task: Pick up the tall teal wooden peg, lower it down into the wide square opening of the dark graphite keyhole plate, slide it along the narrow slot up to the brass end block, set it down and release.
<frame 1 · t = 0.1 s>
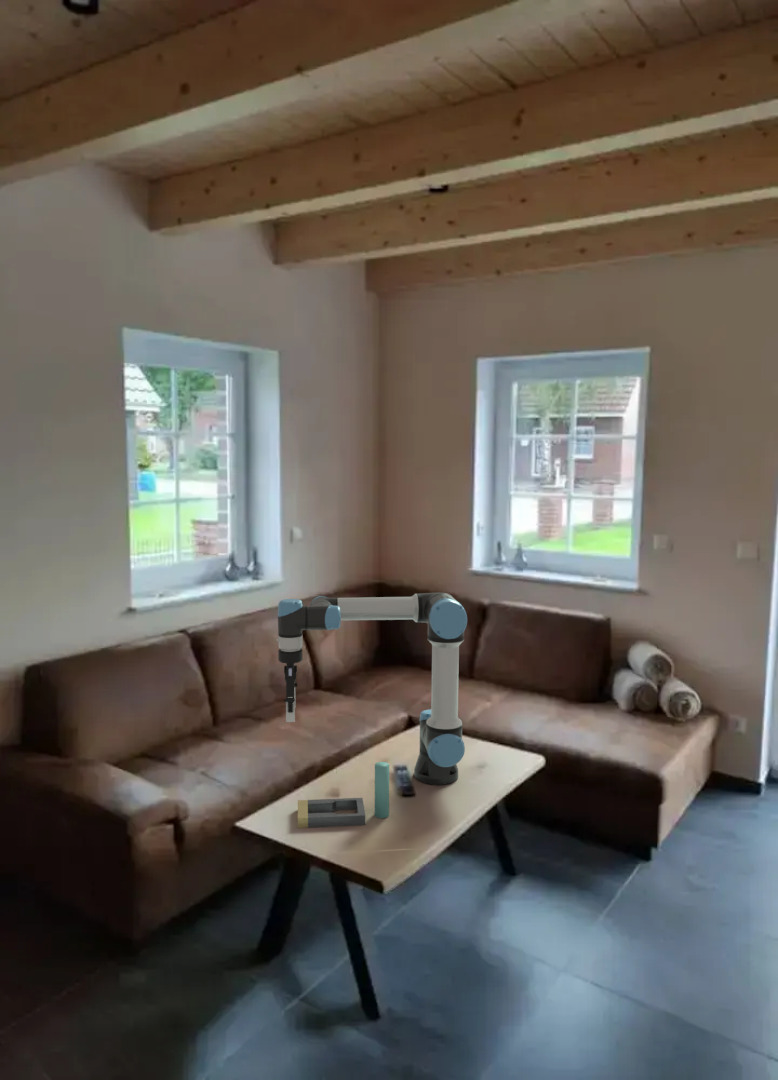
hand: (290, 714, 248), 28 cm above the table, fingers open, 13 cm apart
keyhole plate: (331, 817, 239), on the table
peg: (381, 814, 241), on the table
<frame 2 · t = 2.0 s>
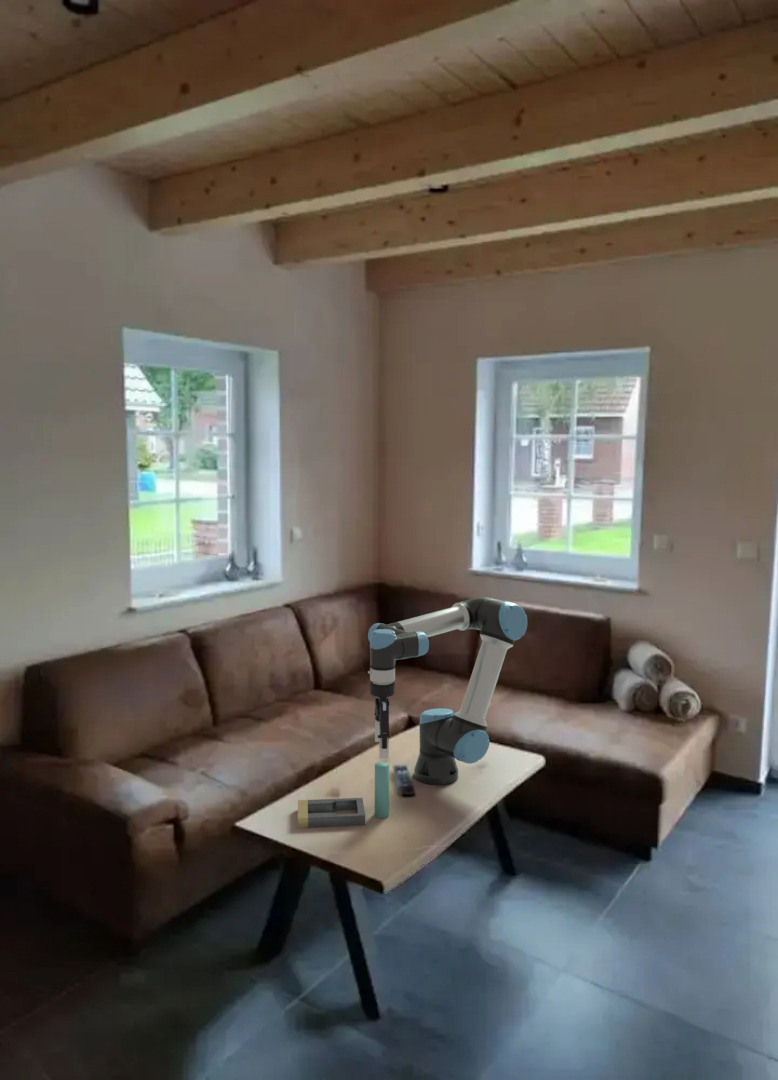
hand: (381, 749, 238), 21 cm above the table, fingers open, 13 cm apart
nothing on the table moved.
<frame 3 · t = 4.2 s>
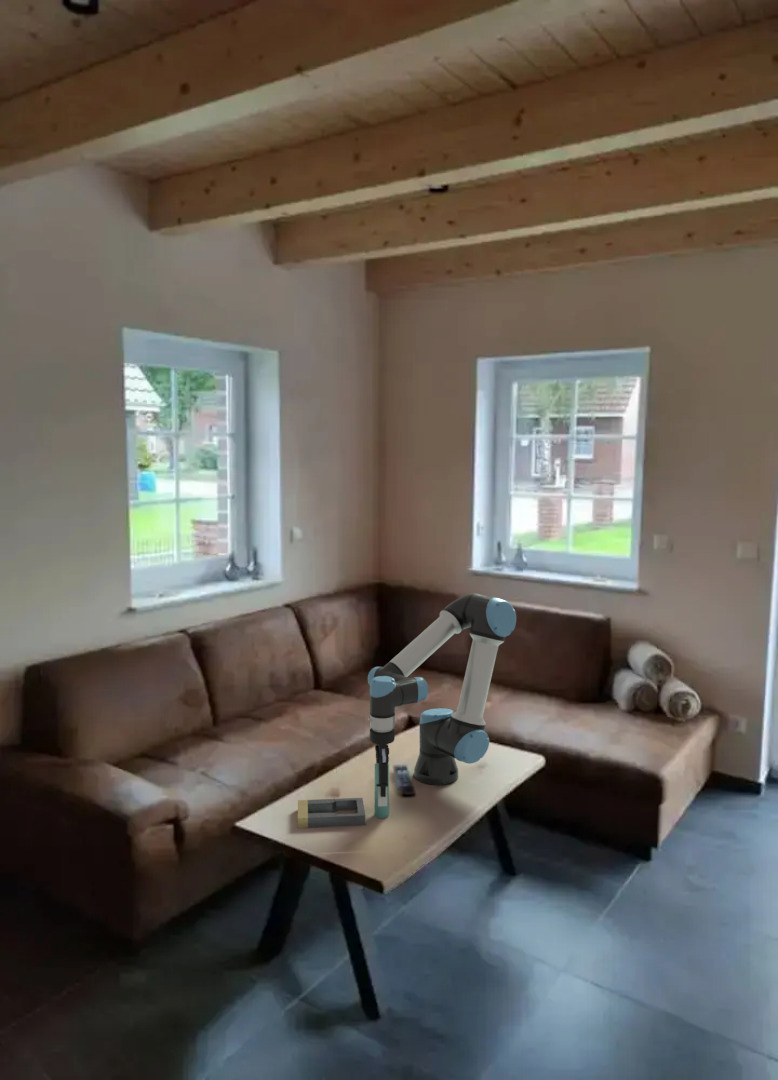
hand: (381, 801, 240), 4 cm above the table, fingers closed on peg, 4 cm apart
peg: (381, 814, 241), on the table, touching gripper
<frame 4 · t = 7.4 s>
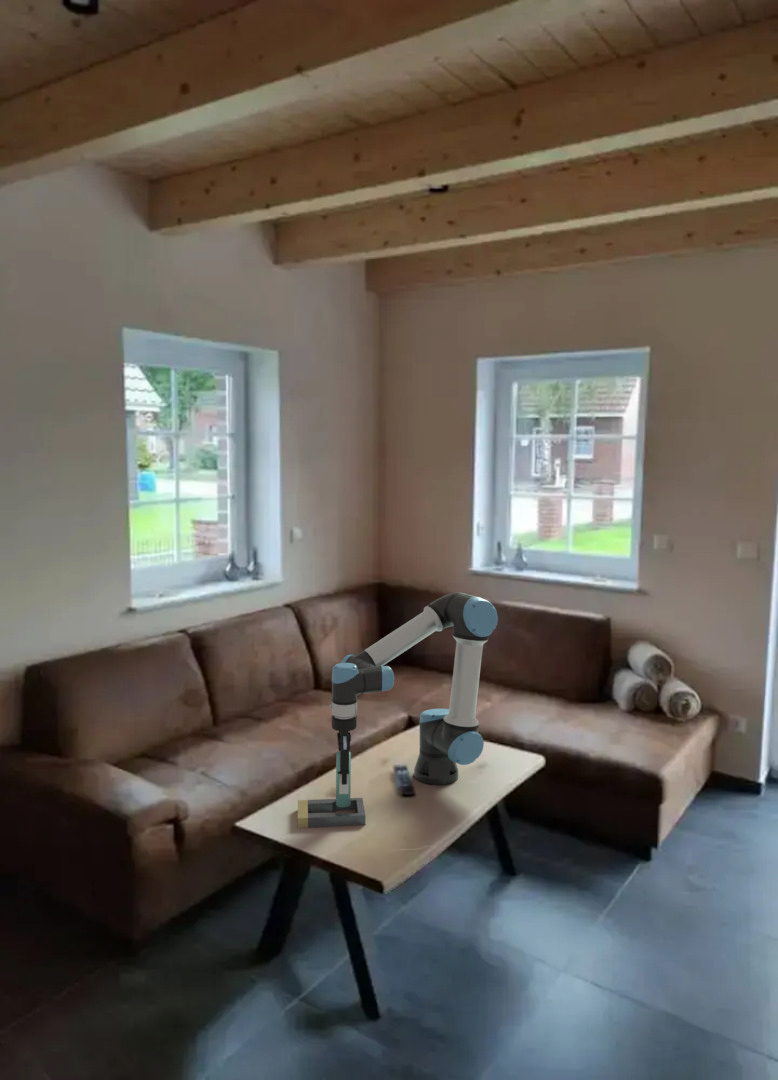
hand: (343, 789, 238), 9 cm above the table, fingers closed on peg, 4 cm apart
peg: (343, 804, 239), point 4 cm above the table, touching gripper
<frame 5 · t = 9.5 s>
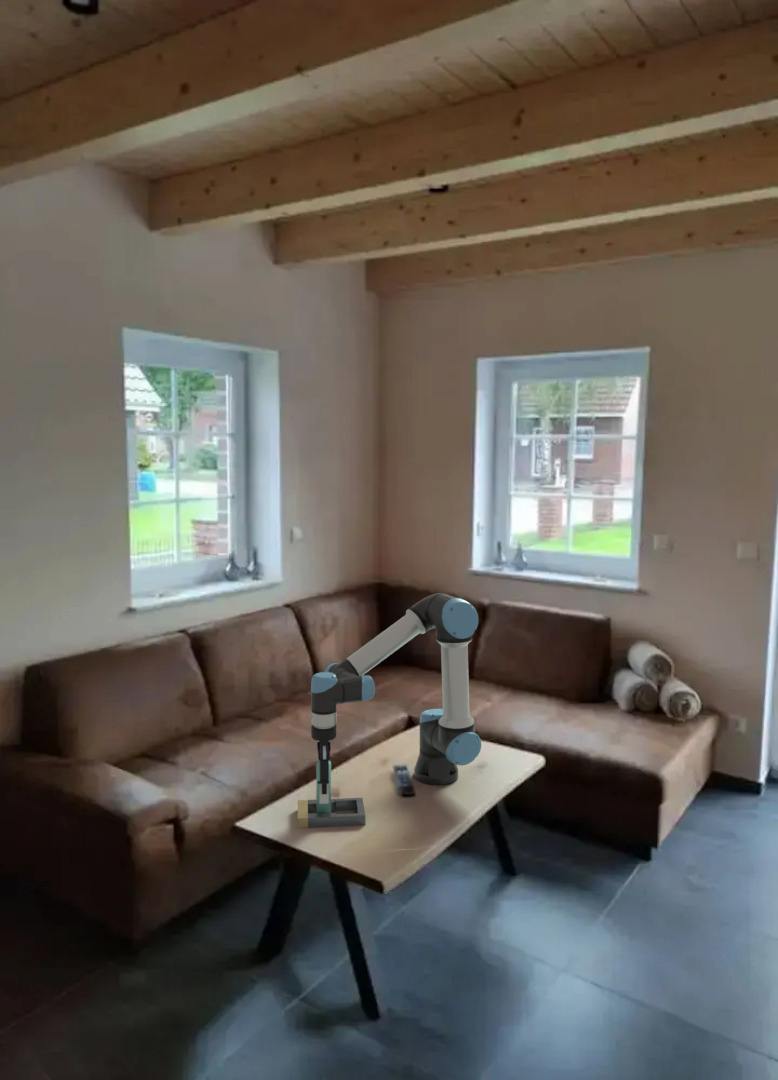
hand: (323, 799, 238), 6 cm above the table, fingers closed on peg, 4 cm apart
peg: (323, 813, 239), point 1 cm above the table, touching gripper
when the fingers open (5 cm above the table, at t = 10.7 s): peg stays where it is, resting in keyhole plate.
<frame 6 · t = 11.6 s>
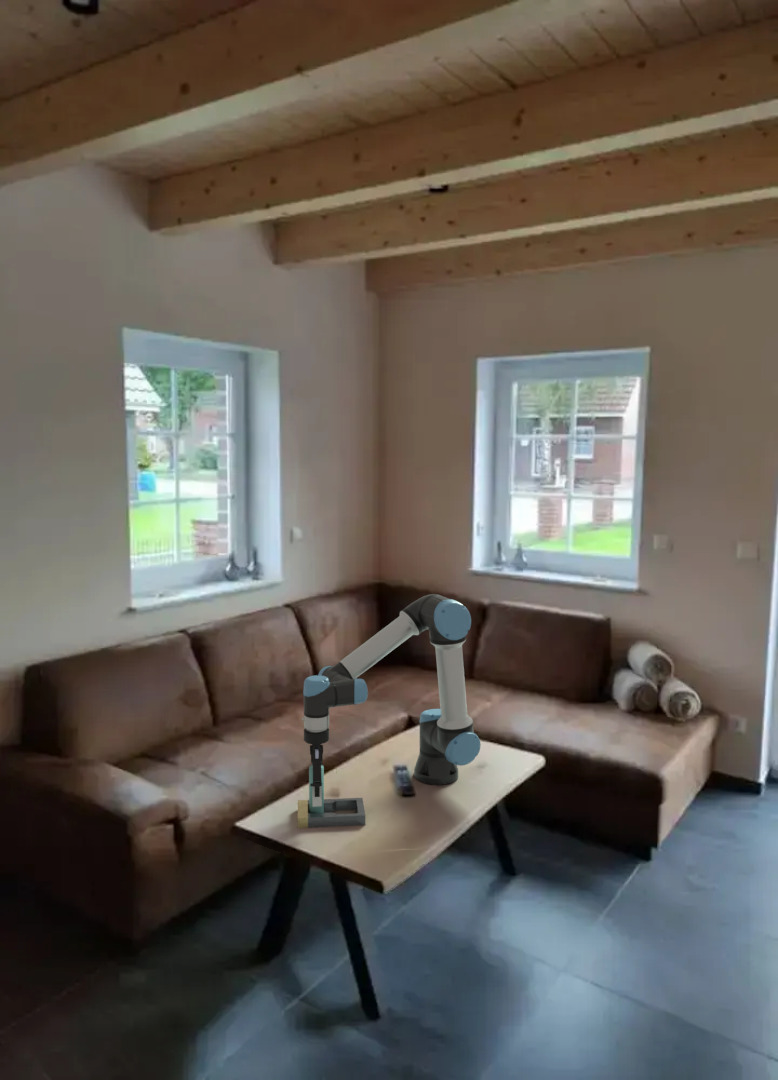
hand: (316, 795, 238), 7 cm above the table, fingers open, 13 cm apart
peg: (316, 817, 239), resting in keyhole plate
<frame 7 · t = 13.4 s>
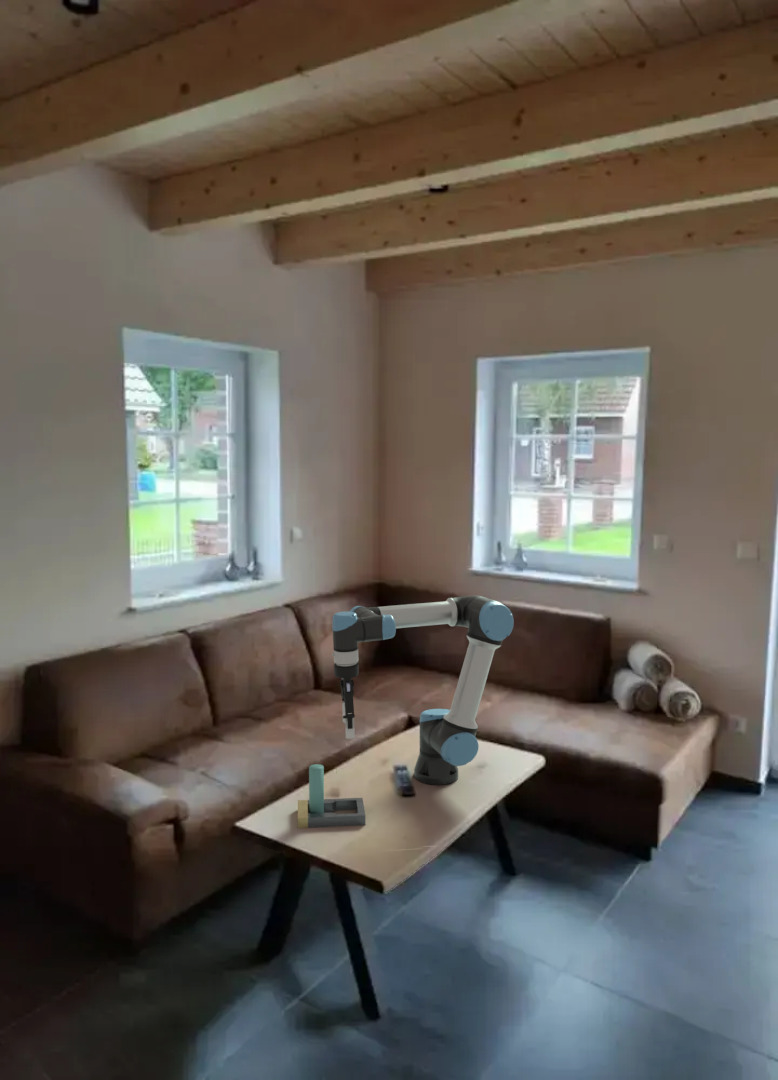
hand: (348, 729, 242), 25 cm above the table, fingers open, 13 cm apart
nothing on the table moved.
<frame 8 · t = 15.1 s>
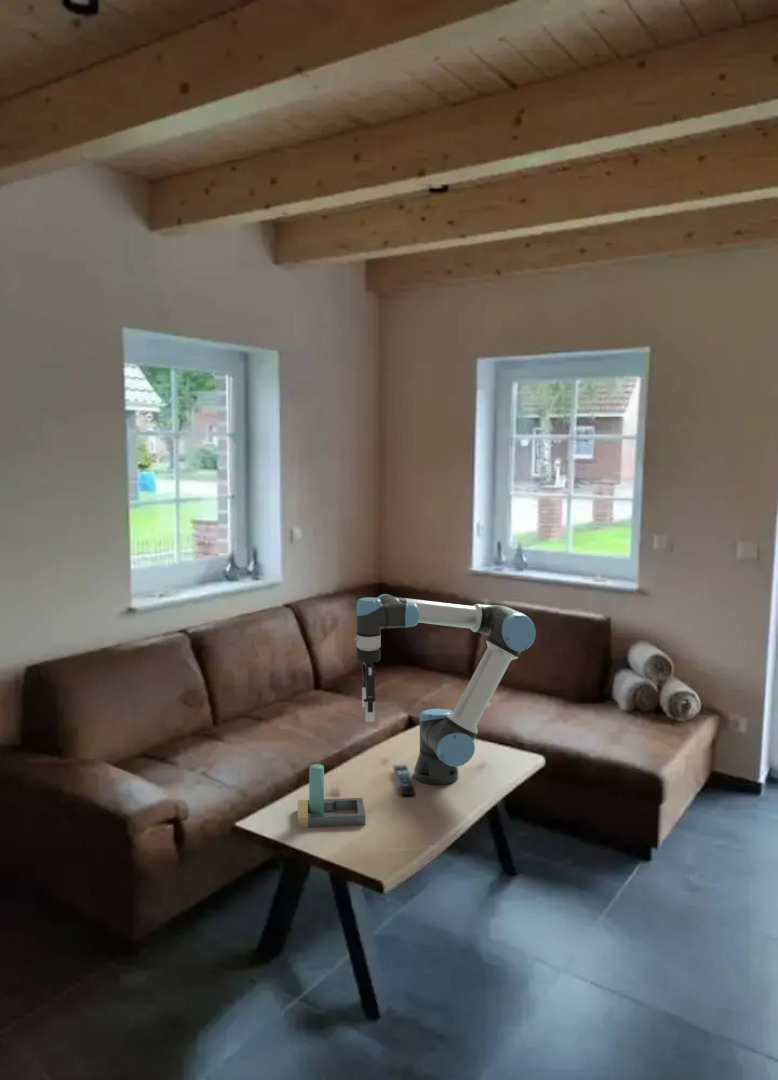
hand: (368, 714, 246), 29 cm above the table, fingers open, 13 cm apart
nothing on the table moved.
at the end: peg 1.0 cm from the target spot on the keyhole plate, point 0.0 cm above the keyhole plate's base; peg tilted 0°; the gripper is holding nothing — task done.
